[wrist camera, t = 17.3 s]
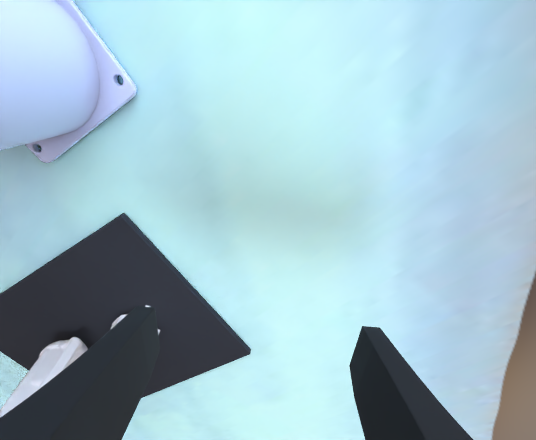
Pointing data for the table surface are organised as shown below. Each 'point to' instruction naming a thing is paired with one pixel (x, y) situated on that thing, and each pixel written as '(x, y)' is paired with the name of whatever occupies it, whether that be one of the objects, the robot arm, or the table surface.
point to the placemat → (116, 305)
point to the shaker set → (48, 368)
